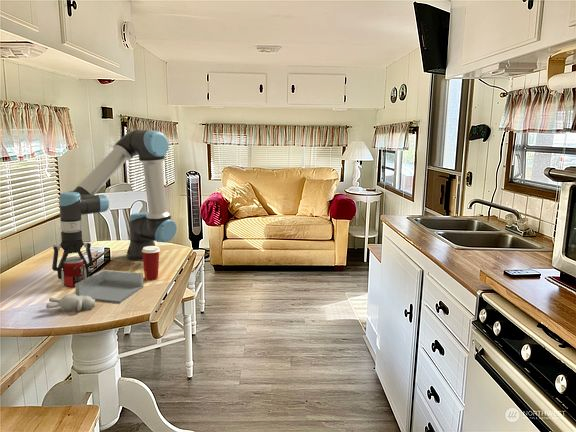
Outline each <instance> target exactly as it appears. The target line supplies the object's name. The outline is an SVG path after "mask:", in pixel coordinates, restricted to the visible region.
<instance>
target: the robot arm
mask: <svg viewBox="0 0 576 432" xmlns="http://www.w3.org/2000/svg"><path fill="white" fill-rule="evenodd" d="M167 138H168V137H166V135H165V134H163V133H162V132H161V131H157V130H153V129H152V130H151V129H150V130H148V129H146V130H145V129H134V130H132V131H130V132H128V133H126V134H125V135H124V136H122V137H120V139H119V140H118V141H117V142H116V143H115V144H114V145H113V146H112V148H113V149H112V150H111V151H110V152H109V153H108V154H107V155H106V156H105V158H103V159H102V161H100V163H99V164H97V166H96V167H95V168H94V169H93V170H92V171H91V172H90V173H89V174H88V175H87V176H86V177H85V178H84V179H83V180H82V181H81V182H80V183H79V184H78V185H77V187H75V189H73V190H70V191H67V192H62V193H60V194H59V196H58V197H59V198H58V199H59V200H58V201H59V202H58V206H59V217H60V219H59V220H60V230H61V231H60V239H61V242H60V244H58V245H56V244H55V245H53V246H52V249H53V257H52V266H51V269H52V271H55V272H57V278H58V280H60V286H61V288H65V286H64V271H63V265H64V261H65V260H66V258H68V256H69V255H70V254H78V257H80V258H81V259H83V262H84V279H85V278H87V277H88V276H89V275H90V267H93V266H94V259H93V255H92V251H91V246H92V243H90V242H89V241H87V242H84V241H83V231H82V216H84V215H92V214H101V213H105V212H107V211H108V210H109V208H110V202H109V199H108V198H109V197H107V196H106V195H105V194H97V193H98V191H100V190H101V188H102V187H103V186H104V185H105V184H106V183H107V182H108V181H109V180H110V178H112V177H113V175H114V174H115V173H117V171H118V170H119V169H120V168H121V167H122V166H123V165H124V164H125V163H126V161H130V160H132V158H133V157H136V156H138V160H139V162H141V164H142V166H143V175H144V182H145V183H144V185H145V191H146V199H147V200H146V201H147V208H148V212H147V211H145V212H143V211H141V212H135V213H132V214H130V215H129V220H128V221H129V246H128V247H127V248H128V249H127V251H126V258H127V259H128V260H131V261H143V252H142V250H143V248H144V247H146V246H156V243H155V242H157V243H168V242H170V241H172V240H173V239H174V237H175V236H176V234H177V231H178V226H177V223H176V221H174V220H173V219H172V214H171V213H170V212H169V211H168V208H167V207H168V206H167V198H166V190H165V189H166V188H165V179H164V171H163V169H164V168H163V162H164V160H165V158H166V157H165V155H167V154H168V151H169V141H168V139H167ZM83 247H84V248H85V251H86V256H87V259H88V262H87V260H86V258H85V256H84V255H83V252H82V251H81V249H82V248H83ZM61 249H62V250H63V253H62V255H61V258H60V260H59V263H58V258H59V252H60V251H61Z"/></svg>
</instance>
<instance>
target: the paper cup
mask: <svg viewBox="0 0 576 432" xmlns="http://www.w3.org/2000/svg"><path fill="white" fill-rule="evenodd" d="M142 252H143V260H142V262H143V277H144V280H146V281H157V280H158V279H159V270H160V269H159V267H160V265H159V264H160V252H161V249H160V247H159V246H156V245H155V246H146V247H144V248H143V250H142Z"/></svg>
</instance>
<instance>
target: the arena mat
mask: <svg viewBox="0 0 576 432" xmlns="http://www.w3.org/2000/svg"><path fill="white" fill-rule="evenodd" d="M141 289H143V288H142V287H141V286H131V285H121V284H112V283H103V284H102V285H100V286H98V287H96V288H95V289H93V290H91V291H89V292H87V293H86V294H84V295H82V296H83V297H84V296H90V297H92V298H93V299H95V302H105V303H114V304H121V303H123V302H124V301H125V300H127V299H129V297H131V296H133V295H134V294H135V293H137V292H138V291H140V290H141Z"/></svg>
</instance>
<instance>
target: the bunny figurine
mask: <svg viewBox="0 0 576 432" xmlns="http://www.w3.org/2000/svg"><path fill="white" fill-rule="evenodd" d="M48 301H49V302H50V303H46V306H45V308H46V309H54V308H58V307H60V308H61V310H62V311H64V312H75V311H78V312H79V311H80V312H81V311H82V310H83V311H89V310H91V309H92V308H94V307H95V302H96V301H95V299H93V298H92V297H90V296H84V297H83V296H82V295H80V296H78V295H76V293H75V294H74V293H68V294H65V295H64V296H62V297H61V298H58V297H50V298H49V299H48Z"/></svg>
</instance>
